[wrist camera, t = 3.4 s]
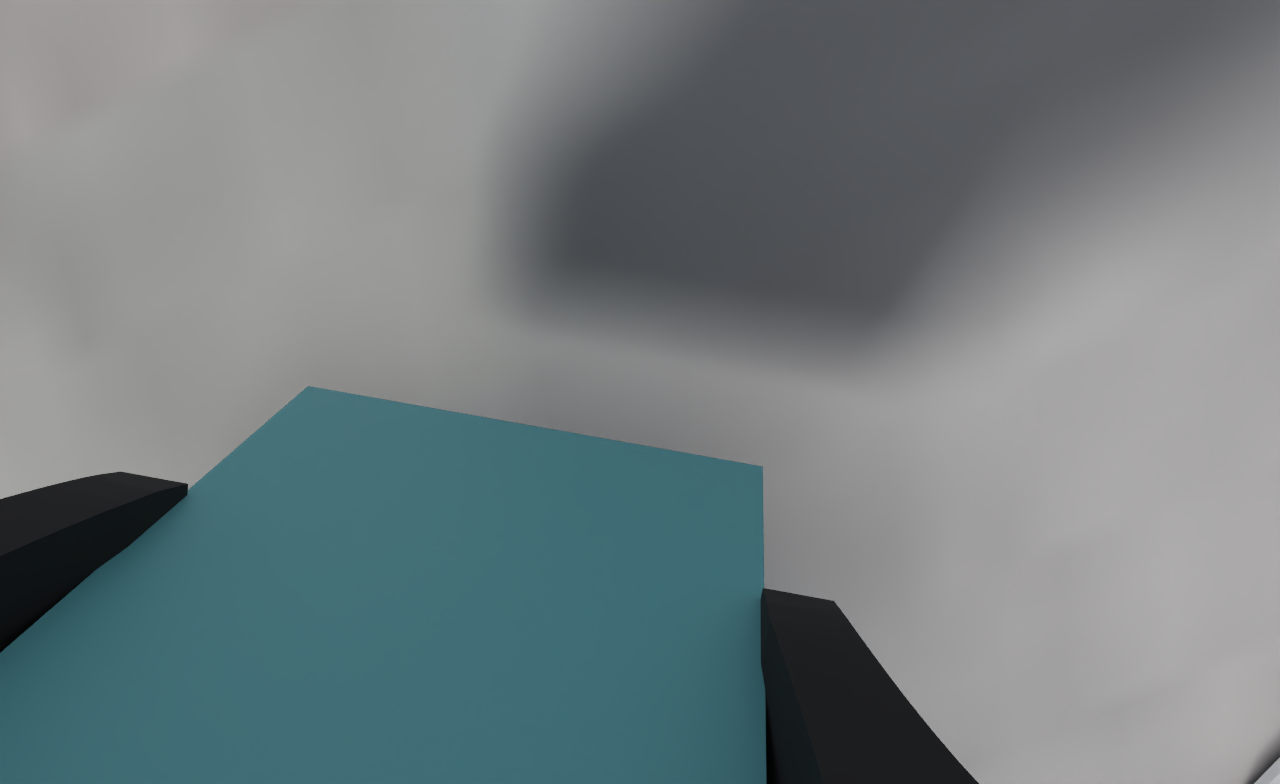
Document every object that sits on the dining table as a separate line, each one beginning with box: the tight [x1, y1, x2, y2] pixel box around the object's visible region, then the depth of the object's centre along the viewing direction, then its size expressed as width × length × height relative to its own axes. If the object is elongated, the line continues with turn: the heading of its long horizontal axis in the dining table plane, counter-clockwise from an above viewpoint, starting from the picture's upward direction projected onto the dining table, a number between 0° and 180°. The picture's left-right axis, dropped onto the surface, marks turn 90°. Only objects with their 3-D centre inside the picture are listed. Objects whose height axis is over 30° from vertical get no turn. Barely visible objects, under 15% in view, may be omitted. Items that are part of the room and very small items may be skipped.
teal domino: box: [0, 386, 766, 784], centre depth 9 cm, size 2×5×9 cm, turn 82°
